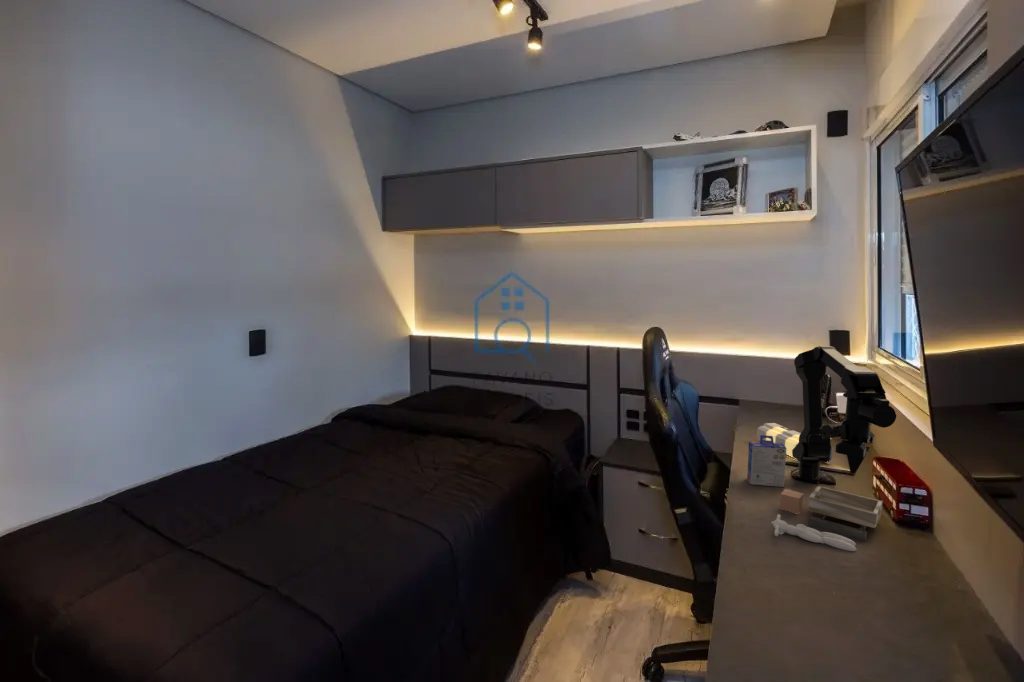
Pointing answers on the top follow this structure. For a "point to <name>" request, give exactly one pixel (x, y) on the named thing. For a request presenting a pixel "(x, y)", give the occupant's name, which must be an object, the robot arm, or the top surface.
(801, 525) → the decorative figure
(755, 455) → the ink cartridge box
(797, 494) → the block
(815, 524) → the framed panel
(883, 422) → the robot arm
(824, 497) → the beige open rectangular box
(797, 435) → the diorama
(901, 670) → the top surface
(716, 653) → the top surface
